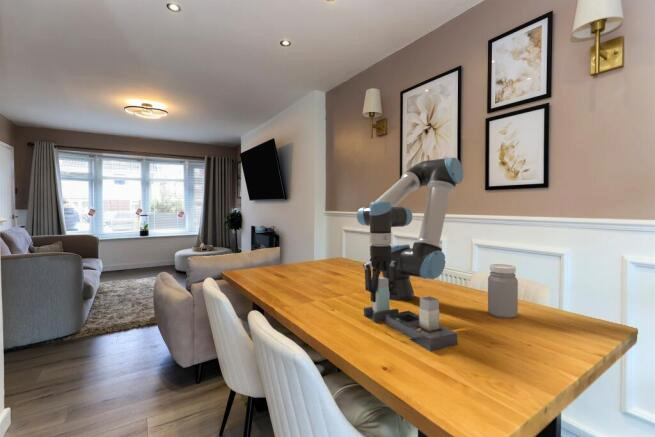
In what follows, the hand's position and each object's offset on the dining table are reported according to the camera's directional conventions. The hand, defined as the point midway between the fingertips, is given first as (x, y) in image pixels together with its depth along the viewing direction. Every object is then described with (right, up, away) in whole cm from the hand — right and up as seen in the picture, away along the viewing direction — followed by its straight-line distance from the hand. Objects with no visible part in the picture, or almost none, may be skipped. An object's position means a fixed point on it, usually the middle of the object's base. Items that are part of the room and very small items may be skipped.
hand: (381, 309), depth 114 cm
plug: (0, -3, 0) cm, 3 cm away
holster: (0, -3, 0) cm, 3 cm away
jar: (+45, -3, +2) cm, 45 cm away
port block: (+9, -4, -14) cm, 17 cm away
